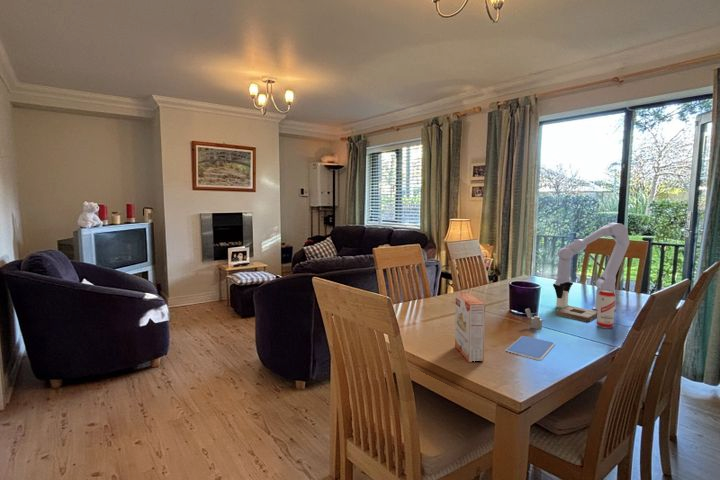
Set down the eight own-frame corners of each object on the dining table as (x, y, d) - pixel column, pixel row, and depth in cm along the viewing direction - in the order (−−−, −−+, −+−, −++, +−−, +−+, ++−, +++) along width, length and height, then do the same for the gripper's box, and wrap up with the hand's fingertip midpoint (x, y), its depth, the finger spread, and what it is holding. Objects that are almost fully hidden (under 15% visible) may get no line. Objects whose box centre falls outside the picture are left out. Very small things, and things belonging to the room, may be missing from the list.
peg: (559, 304, 198) (560, 290, 197) (567, 306, 195) (568, 291, 194) (556, 306, 196) (557, 291, 195) (564, 308, 193) (565, 292, 192)
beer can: (615, 329, 161) (618, 293, 159) (599, 328, 162) (602, 292, 161) (609, 324, 167) (611, 289, 166) (593, 323, 169) (596, 288, 167)
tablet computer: (540, 362, 130) (540, 358, 130) (504, 352, 139) (504, 349, 139) (555, 345, 145) (555, 342, 145) (521, 338, 153) (522, 335, 153)
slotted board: (567, 309, 190) (567, 305, 190) (598, 315, 180) (599, 311, 180) (555, 314, 182) (556, 310, 181) (587, 321, 171) (588, 317, 171)
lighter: (542, 329, 162) (543, 311, 161) (540, 330, 161) (541, 311, 160) (525, 324, 167) (526, 307, 166) (523, 325, 166) (524, 308, 165)
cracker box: (453, 347, 143) (455, 293, 140) (469, 346, 143) (470, 293, 141) (467, 363, 129) (468, 304, 127) (484, 362, 129) (486, 303, 127)
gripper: (561, 268, 201) (560, 292, 203) (549, 271, 192) (548, 297, 193) (575, 270, 196) (574, 295, 197) (564, 273, 186) (562, 300, 188)
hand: (562, 296), depth 195 cm, fingers open, 7 cm apart
